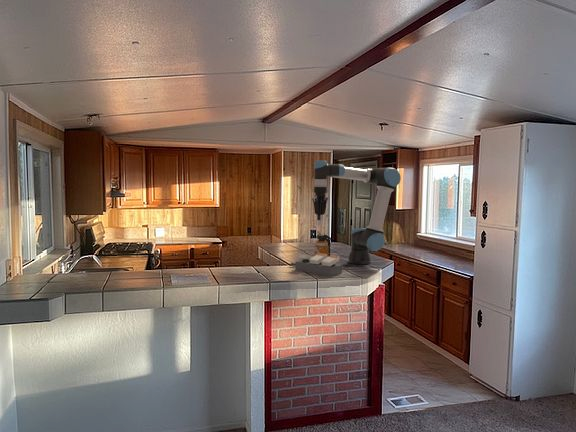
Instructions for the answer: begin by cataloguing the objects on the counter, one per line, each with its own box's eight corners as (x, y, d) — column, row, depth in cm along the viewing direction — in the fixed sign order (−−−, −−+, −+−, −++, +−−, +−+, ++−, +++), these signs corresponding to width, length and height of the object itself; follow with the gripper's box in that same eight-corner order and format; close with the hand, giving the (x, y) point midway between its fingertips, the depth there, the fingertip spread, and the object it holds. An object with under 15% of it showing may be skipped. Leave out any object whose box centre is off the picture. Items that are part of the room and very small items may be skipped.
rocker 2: (319, 256, 276) (318, 252, 275) (327, 258, 272) (326, 253, 271) (309, 263, 269) (309, 258, 268) (317, 264, 265) (317, 260, 264)
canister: (312, 264, 291) (312, 234, 289) (326, 263, 296) (327, 233, 294) (318, 267, 283) (319, 235, 281) (333, 265, 288) (334, 235, 286)
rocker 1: (307, 259, 281) (308, 254, 282) (315, 260, 277) (315, 255, 278) (297, 257, 274) (298, 252, 274) (305, 258, 270) (306, 254, 270)
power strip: (296, 265, 289) (296, 255, 288) (341, 273, 266) (342, 263, 265) (285, 267, 280) (285, 258, 280) (331, 276, 258) (331, 266, 257)
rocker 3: (331, 258, 270) (330, 254, 269) (339, 260, 266) (339, 255, 265) (321, 265, 263) (321, 260, 262) (330, 266, 259) (329, 262, 258)
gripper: (321, 186, 274) (321, 224, 276) (308, 186, 264) (308, 225, 266) (331, 186, 269) (331, 225, 271) (319, 186, 259) (318, 226, 261)
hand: (319, 225), depth 269 cm, fingers closed
